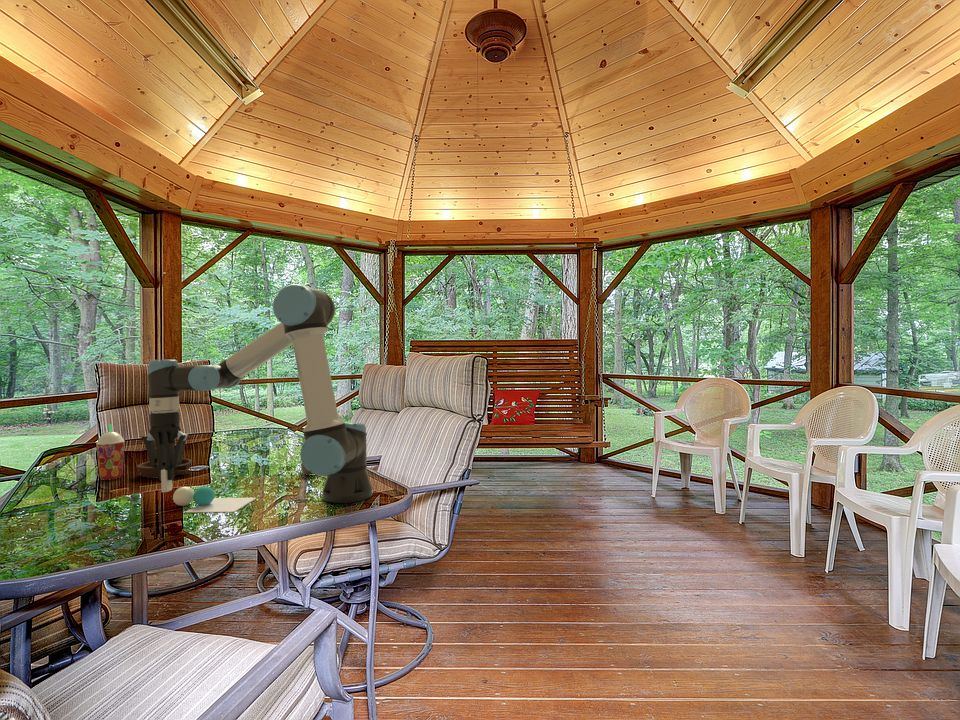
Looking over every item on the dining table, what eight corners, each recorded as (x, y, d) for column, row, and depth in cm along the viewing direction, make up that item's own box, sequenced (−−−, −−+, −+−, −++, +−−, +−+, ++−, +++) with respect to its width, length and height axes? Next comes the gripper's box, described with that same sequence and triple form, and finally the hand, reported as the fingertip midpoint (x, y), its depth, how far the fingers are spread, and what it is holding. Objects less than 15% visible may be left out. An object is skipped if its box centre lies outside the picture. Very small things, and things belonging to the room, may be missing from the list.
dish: (162, 483, 174) (162, 469, 174) (121, 478, 182) (121, 464, 182) (206, 472, 190) (206, 459, 190) (167, 468, 199) (167, 456, 199)
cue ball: (176, 492, 149) (187, 506, 149) (165, 497, 143) (176, 511, 143) (191, 480, 149) (202, 495, 149) (180, 485, 143) (191, 500, 143)
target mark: (257, 498, 153) (257, 497, 153) (234, 512, 139) (234, 511, 139) (212, 498, 153) (212, 497, 153) (184, 512, 139) (184, 511, 139)
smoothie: (124, 475, 186) (123, 422, 186) (126, 479, 180) (125, 424, 180) (96, 478, 181) (95, 424, 181) (97, 483, 174) (96, 426, 174)
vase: (297, 476, 182) (297, 452, 181) (308, 472, 188) (307, 449, 188) (313, 477, 180) (313, 453, 180) (324, 473, 187) (324, 449, 187)
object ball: (216, 504, 149) (219, 486, 149) (206, 509, 143) (209, 490, 143) (198, 500, 149) (201, 482, 149) (187, 506, 143) (191, 487, 143)
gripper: (133, 413, 142) (136, 495, 142) (178, 412, 142) (181, 493, 142) (151, 410, 150) (153, 488, 150) (193, 409, 150) (196, 487, 150)
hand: (166, 490), depth 146 cm, fingers closed
